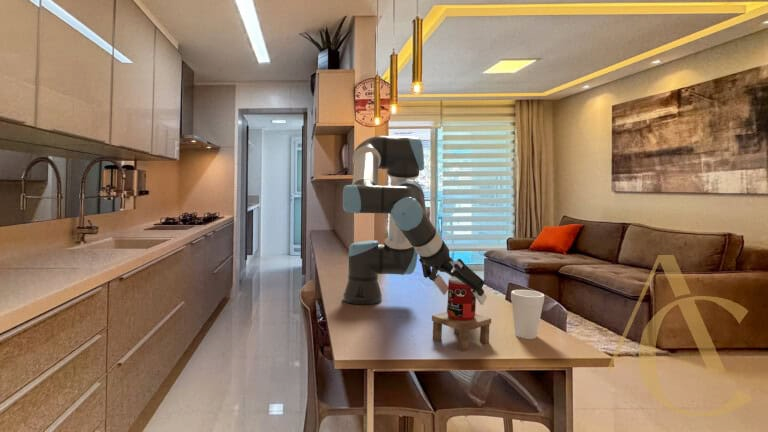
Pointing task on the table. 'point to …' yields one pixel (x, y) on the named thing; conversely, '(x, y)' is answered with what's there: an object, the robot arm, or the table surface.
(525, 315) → the foam cup
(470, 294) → the canned food
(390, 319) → the table surface
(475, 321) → the stool
